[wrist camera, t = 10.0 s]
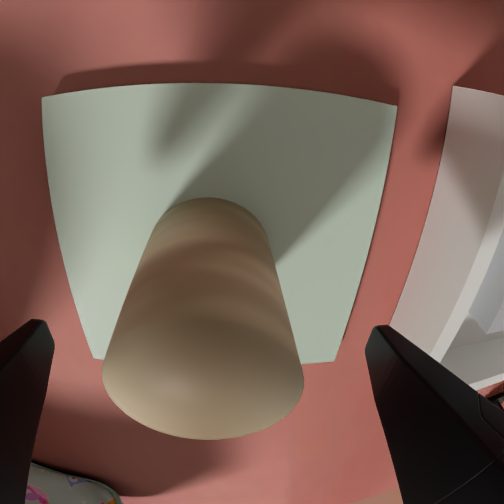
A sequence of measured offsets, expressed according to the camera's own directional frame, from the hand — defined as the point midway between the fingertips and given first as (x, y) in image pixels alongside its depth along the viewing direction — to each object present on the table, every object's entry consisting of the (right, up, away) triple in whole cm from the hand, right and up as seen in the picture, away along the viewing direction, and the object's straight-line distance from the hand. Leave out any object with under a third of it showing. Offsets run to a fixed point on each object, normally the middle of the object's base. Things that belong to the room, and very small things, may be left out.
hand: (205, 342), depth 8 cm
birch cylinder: (0, +2, +4) cm, 4 cm away
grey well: (+17, +2, +6) cm, 18 cm away
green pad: (0, +3, +4) cm, 5 cm away
